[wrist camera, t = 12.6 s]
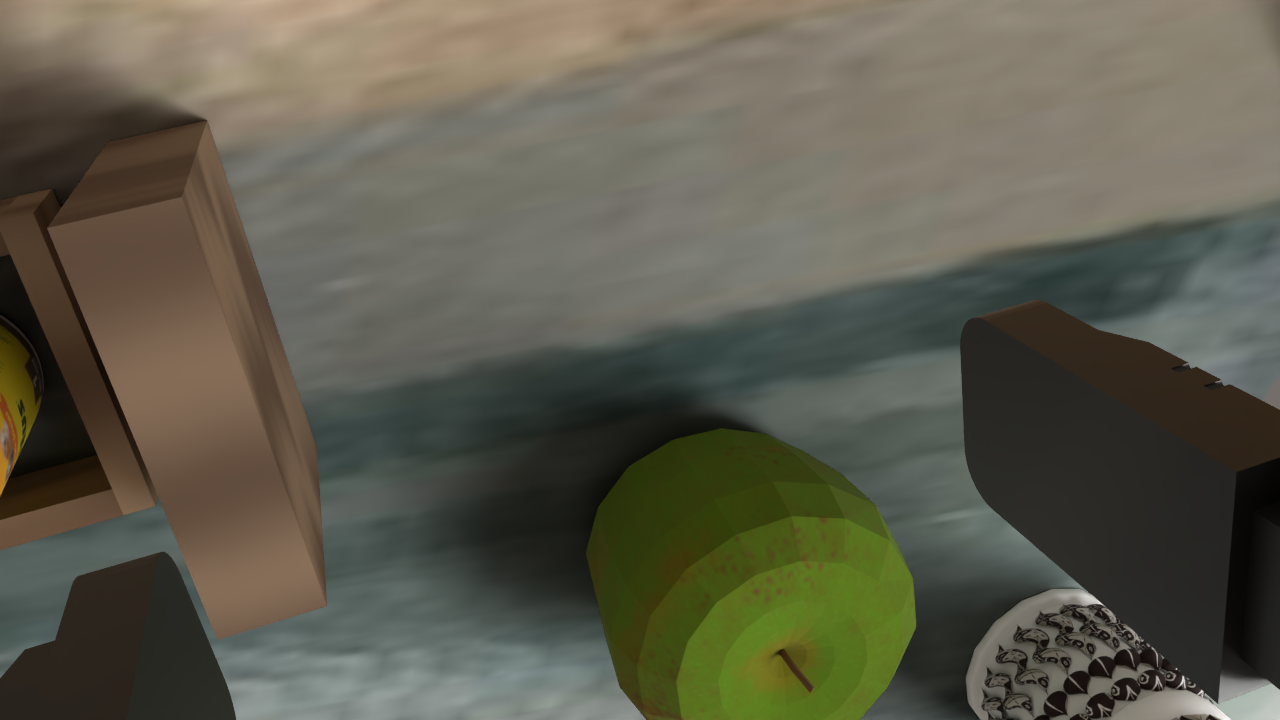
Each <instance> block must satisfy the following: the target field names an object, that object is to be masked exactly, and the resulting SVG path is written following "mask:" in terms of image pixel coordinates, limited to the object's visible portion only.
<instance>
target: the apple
mask: <svg viewBox="0 0 1280 720" xmlns="http://www.w3.org/2000/svg"><path fill="white" fill-rule="evenodd" d="M586 556H587V560H588V564H589V569H590V573H591V577H592V581H593V586H594V590H595V594H596V598H597V602H598V607H599V611H600V615H601V619H602V623H603V628H604V632H605V636H606V640H607V644H608V647H609V651H610V654H611V658H612V661H613V665H614V668H615V672H616V675H617V679H618V682H619V686H620V688H621V689H622V690H623V692H624V693H625V694H626V695H627V697H628V698H629V699H630V700H631V701H632V703H633V704H634V705H635V706H636V708H637V709H638V710H639V711H640V713H641V714H642V715H643V716H644V718H645V719H646V720H860V719H861V717H862V716H863V715H864V714H865V713H866V712H867V710H868V709H869V708H870V707H871V706H872V705H873V703H874V702H875V701H876V700H877V699H878V698H879V696H880V695H881V694H882V693H883V692H884V691H885V689H886V688H887V687H888V685H889V683H890V681H891V680H892V678H893V676H894V674H895V672H896V670H897V668H898V666H899V664H900V661H901V659H902V657H903V655H904V653H905V650H906V648H907V646H908V644H909V642H910V640H911V637H912V635H913V633H914V631H915V629H916V612H915V597H914V582H913V578H912V575H911V573H910V571H909V569H908V566H907V564H906V562H905V560H904V557H903V555H902V553H901V551H900V548H899V546H898V545H897V543H896V541H895V539H894V537H893V536H892V534H891V532H890V530H889V529H888V527H887V525H886V523H885V521H884V520H883V518H882V516H881V514H880V512H879V511H878V509H877V507H876V505H875V504H874V503H873V502H871V501H870V500H869V499H868V498H867V497H866V496H865V495H864V494H863V493H862V492H861V491H859V490H858V489H857V488H856V487H855V486H854V485H853V484H852V483H851V482H850V481H848V480H847V479H846V478H845V477H844V476H843V475H842V474H841V473H839V472H838V471H836V470H834V469H833V468H831V467H829V466H827V465H826V464H824V463H822V462H821V461H819V460H817V459H816V458H814V457H812V456H810V455H809V454H807V453H805V452H804V451H802V450H800V449H798V448H795V447H793V446H791V445H789V444H787V443H784V442H782V441H780V440H778V439H776V438H774V437H771V436H769V435H767V434H764V433H756V432H747V431H739V430H731V429H722V428H720V429H716V430H712V431H708V432H703V433H699V434H695V435H691V436H687V437H682V438H678V439H674V440H672V441H670V442H669V443H667V444H665V445H664V446H662V447H660V448H659V449H657V450H655V451H654V452H652V453H650V454H648V455H647V456H645V457H643V458H642V459H640V460H638V461H637V462H635V463H633V464H632V465H630V466H629V467H628V468H627V469H626V471H625V472H624V473H623V475H622V476H621V477H620V479H619V480H618V481H617V483H616V484H615V485H614V487H613V488H612V489H611V491H610V492H609V493H608V495H607V496H606V497H605V499H604V500H603V501H602V503H601V504H600V505H599V507H598V509H597V513H596V517H595V520H594V524H593V528H592V532H591V535H590V539H589V543H588V546H587V550H586Z"/></svg>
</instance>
